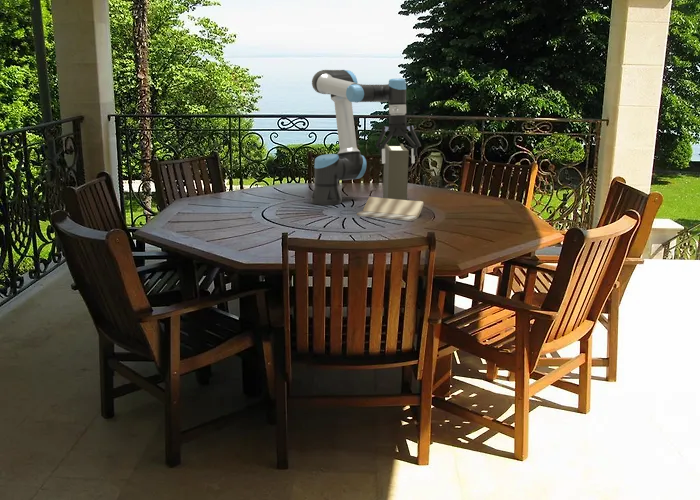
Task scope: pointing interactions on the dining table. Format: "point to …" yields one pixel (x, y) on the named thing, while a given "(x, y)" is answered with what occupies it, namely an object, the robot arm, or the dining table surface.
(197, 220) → the dining table surface
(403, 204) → the plank
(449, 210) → the dining table surface
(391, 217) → the laid boards
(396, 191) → the olive curved-top slab
